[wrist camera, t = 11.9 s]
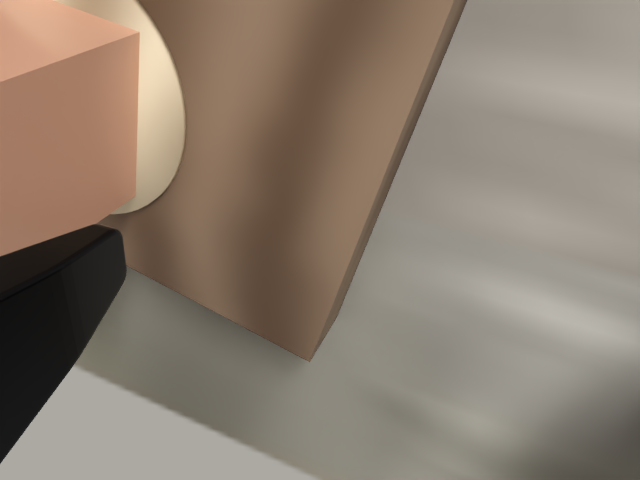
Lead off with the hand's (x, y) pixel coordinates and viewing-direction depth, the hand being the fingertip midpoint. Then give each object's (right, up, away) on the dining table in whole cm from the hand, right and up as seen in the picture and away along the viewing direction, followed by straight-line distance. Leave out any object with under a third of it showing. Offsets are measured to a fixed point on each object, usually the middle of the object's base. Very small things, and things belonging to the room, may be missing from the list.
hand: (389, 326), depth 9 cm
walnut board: (-5, +12, +11) cm, 17 cm away
